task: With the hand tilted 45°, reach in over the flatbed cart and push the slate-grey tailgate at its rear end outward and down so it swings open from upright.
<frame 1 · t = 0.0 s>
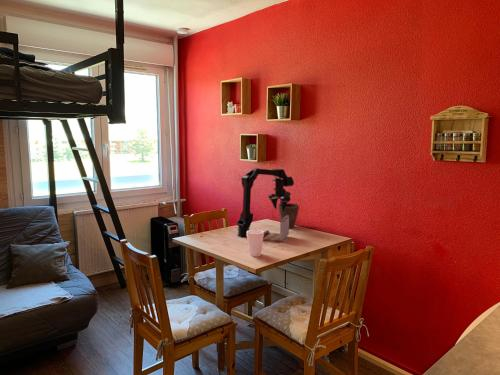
hand: (279, 209, 260), 15 cm above the table, tool pointing down, fingers open, 9 cm apart
foam cup: (255, 255, 208), on the table
plant pot: (288, 227, 272), on the table
flatbed cart: (272, 238, 241), on the table
tailgate: (284, 227, 237), point 8 cm above the table, hinge at 0.0°
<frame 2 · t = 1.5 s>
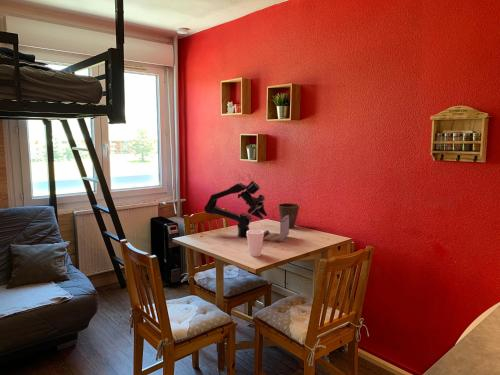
hand: (264, 217, 241), 13 cm above the table, tool tilted 45°, fingers open, 9 cm apart
nothing on the table moved.
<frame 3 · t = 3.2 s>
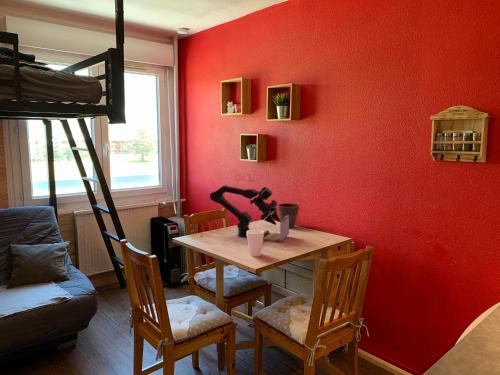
hand: (277, 223, 238), 10 cm above the table, tool tilted 45°, fingers open, 9 cm apart
nothing on the table moved.
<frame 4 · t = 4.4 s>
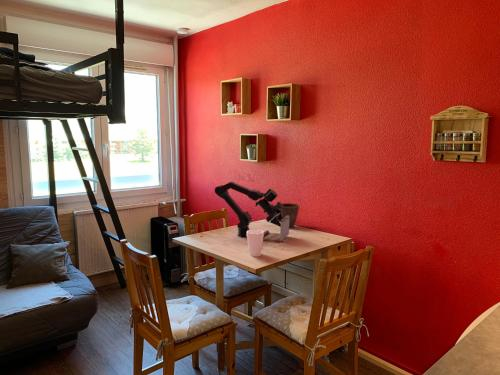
hand: (283, 224, 237), 9 cm above the table, tool tilted 45°
tailgate: (284, 227, 237), point 8 cm above the table, hinge at 1.3°, touching gripper
everything else where it was.
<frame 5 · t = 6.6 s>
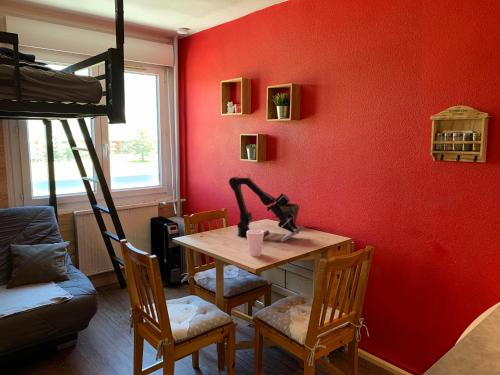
hand: (295, 230, 235), 7 cm above the table, tool tilted 45°, fingers open, 9 cm apart
tailgate: (292, 233, 236), point 4 cm above the table, hinge at 56.7°
everything else where it was.
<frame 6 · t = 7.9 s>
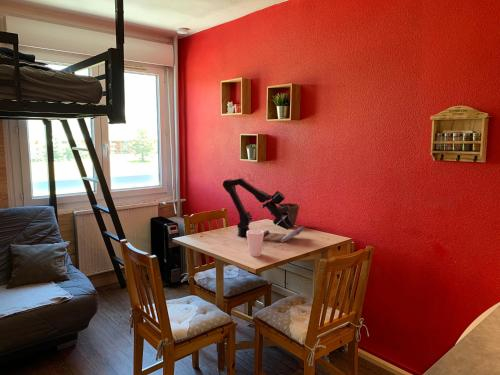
hand: (290, 227, 236), 8 cm above the table, tool tilted 45°, fingers open, 9 cm apart
tailgate: (292, 234, 236), point 4 cm above the table, hinge at 60.0°
everything else where it was.
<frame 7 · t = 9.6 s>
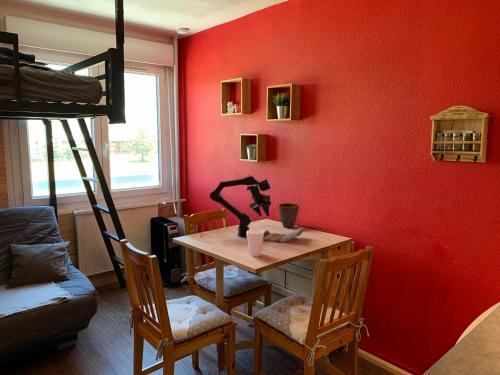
hand: (264, 216, 245), 13 cm above the table, tool tilted 20°, fingers open, 9 cm apart
tailgate: (292, 234, 236), point 4 cm above the table, hinge at 64.0°
everything else where it was.
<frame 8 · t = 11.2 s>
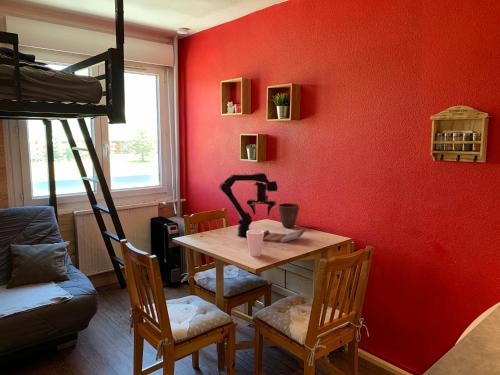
hand: (261, 215, 249), 13 cm above the table, tool pointing down, fingers open, 9 cm apart
tailgate: (292, 235, 236), point 3 cm above the table, hinge at 68.6°
everything else where it was.
at the end: tailgate at +69° (first picture: +0°); the gripper is holding nothing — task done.
